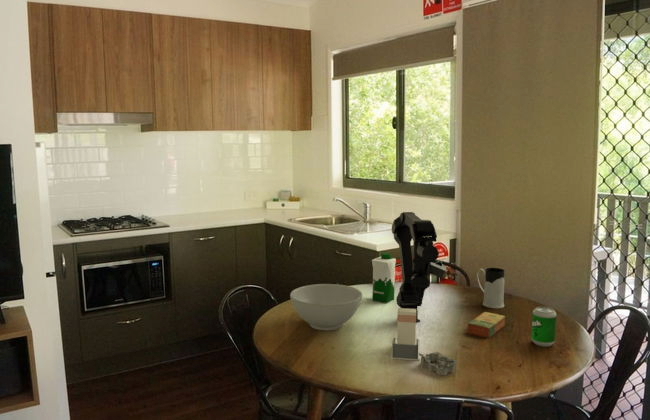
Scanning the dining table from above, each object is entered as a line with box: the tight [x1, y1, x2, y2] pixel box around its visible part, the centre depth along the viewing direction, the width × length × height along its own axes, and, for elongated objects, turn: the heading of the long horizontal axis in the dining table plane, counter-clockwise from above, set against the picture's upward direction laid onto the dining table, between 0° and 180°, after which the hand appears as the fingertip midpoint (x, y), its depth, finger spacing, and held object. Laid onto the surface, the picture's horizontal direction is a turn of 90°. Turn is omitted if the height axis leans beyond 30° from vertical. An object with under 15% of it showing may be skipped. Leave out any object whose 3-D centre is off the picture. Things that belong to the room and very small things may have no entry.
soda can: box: [531, 306, 557, 347], centre depth 191 cm, size 8×8×12 cm
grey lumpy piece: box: [419, 351, 459, 376], centre depth 172 cm, size 11×8×4 cm
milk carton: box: [371, 252, 397, 304], centre depth 239 cm, size 9×9×20 cm
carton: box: [466, 311, 506, 339], centre depth 206 cm, size 8×16×4 cm, turn 143°
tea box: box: [396, 307, 417, 345], centre depth 188 cm, size 4×6×12 cm, turn 80°
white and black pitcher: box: [476, 267, 505, 309], centre depth 236 cm, size 9×14×15 cm, turn 29°
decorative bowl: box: [289, 283, 363, 331], centre depth 210 cm, size 27×27×12 cm
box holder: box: [390, 337, 421, 361], centre depth 187 cm, size 17×9×5 cm, turn 170°
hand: (420, 298), depth 199 cm, fingers open, 9 cm apart
